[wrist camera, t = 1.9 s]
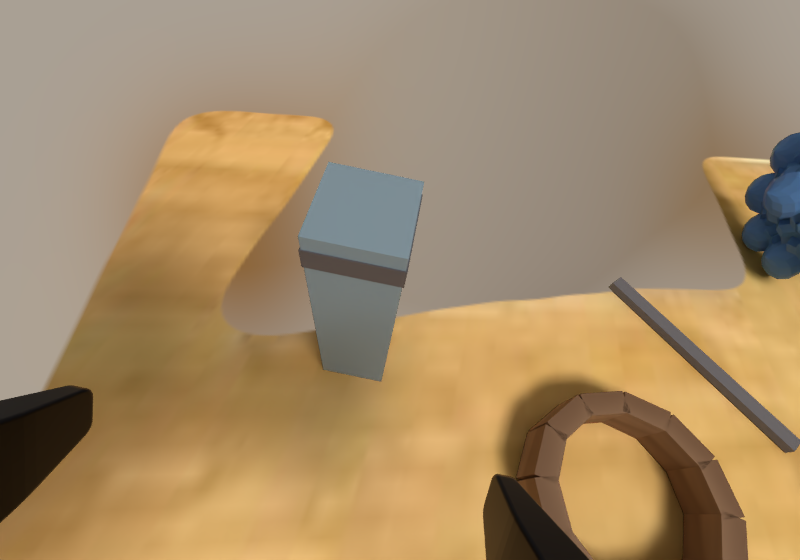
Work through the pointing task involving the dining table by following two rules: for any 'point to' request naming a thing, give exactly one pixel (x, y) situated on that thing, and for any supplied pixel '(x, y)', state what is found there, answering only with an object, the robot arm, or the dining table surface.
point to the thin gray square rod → (707, 368)
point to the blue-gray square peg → (358, 263)
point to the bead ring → (671, 447)
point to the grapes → (777, 212)
